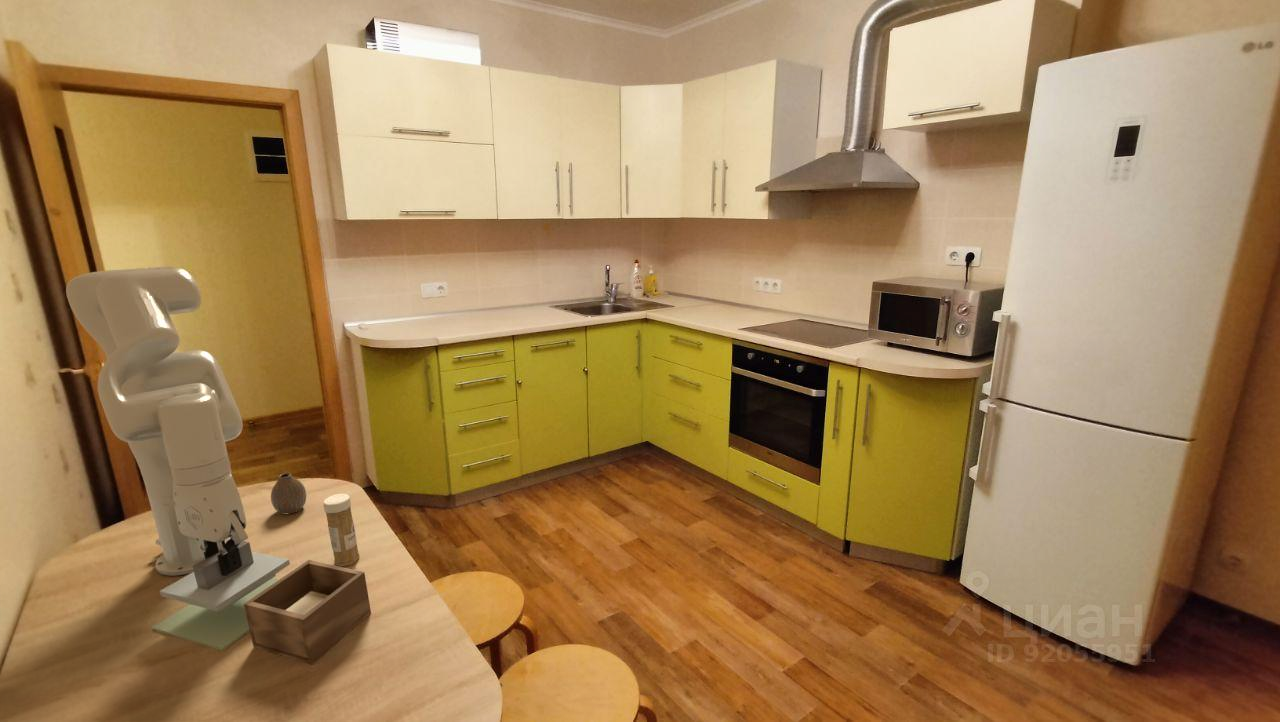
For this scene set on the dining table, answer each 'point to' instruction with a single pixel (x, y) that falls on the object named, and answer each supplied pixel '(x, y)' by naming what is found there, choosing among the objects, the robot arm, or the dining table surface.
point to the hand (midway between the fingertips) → (225, 568)
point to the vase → (288, 494)
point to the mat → (211, 622)
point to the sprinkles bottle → (341, 529)
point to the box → (308, 611)
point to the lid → (224, 580)
